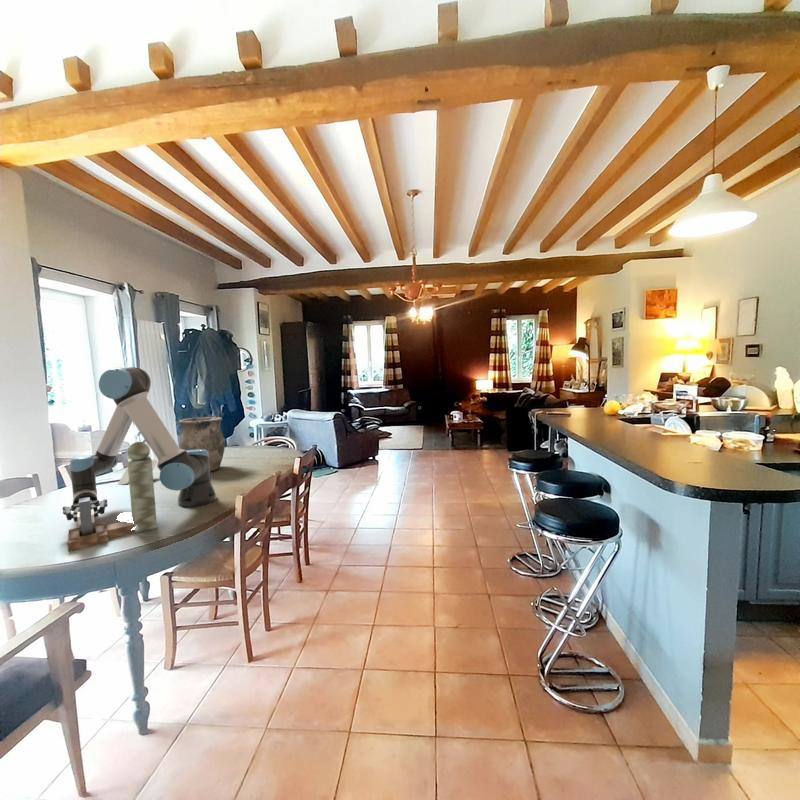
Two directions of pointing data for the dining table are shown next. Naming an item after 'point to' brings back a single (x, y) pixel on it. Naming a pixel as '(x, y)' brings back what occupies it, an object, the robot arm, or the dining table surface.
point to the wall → (126, 476)
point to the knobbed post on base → (140, 503)
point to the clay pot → (204, 438)
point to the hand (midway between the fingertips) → (86, 519)
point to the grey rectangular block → (85, 516)
